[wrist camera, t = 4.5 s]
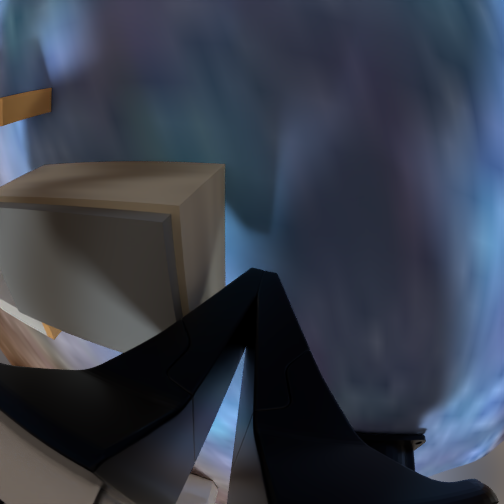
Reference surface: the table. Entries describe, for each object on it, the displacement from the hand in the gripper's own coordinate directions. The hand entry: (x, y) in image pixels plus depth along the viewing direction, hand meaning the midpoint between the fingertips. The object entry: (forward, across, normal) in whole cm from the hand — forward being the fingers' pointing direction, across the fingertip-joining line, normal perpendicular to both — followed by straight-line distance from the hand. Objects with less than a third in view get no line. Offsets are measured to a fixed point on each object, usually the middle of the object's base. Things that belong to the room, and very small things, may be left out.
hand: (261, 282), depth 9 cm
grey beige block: (+2, +6, 0) cm, 6 cm away
